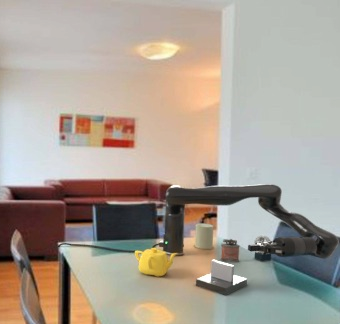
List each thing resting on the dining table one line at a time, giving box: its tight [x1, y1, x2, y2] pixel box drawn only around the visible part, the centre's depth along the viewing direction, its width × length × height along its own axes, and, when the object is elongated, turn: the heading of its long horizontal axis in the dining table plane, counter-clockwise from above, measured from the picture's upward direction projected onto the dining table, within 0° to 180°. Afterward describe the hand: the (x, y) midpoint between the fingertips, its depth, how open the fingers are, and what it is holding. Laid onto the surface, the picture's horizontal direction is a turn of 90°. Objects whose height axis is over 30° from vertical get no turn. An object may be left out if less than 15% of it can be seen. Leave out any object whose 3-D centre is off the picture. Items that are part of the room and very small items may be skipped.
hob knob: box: [210, 259, 235, 282], centre depth 145 cm, size 8×2×6 cm, turn 42°
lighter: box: [220, 238, 240, 263], centre depth 178 cm, size 8×3×10 cm, turn 84°
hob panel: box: [195, 273, 248, 296], centre depth 145 cm, size 16×13×3 cm
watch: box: [253, 235, 272, 262], centre depth 182 cm, size 6×8×11 cm
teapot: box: [134, 247, 178, 278], centre depth 158 cm, size 14×13×10 cm
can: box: [194, 223, 215, 250], centre depth 202 cm, size 9×9×12 cm
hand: (249, 248), depth 144 cm, fingers closed
